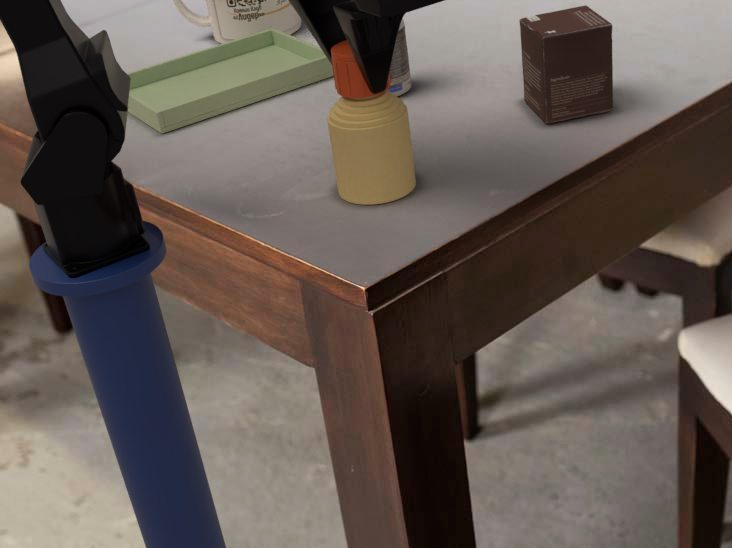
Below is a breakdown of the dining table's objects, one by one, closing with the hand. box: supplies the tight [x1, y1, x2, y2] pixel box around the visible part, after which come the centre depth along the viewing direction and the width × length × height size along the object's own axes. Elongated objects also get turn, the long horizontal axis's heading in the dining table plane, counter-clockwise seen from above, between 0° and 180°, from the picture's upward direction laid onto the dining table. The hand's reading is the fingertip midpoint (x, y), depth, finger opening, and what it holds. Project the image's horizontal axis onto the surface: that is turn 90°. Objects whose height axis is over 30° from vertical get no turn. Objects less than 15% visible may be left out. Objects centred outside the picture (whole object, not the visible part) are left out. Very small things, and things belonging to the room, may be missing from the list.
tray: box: [125, 28, 334, 135], centre depth 108 cm, size 19×13×2 cm
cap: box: [331, 40, 391, 98], centre depth 80 cm, size 4×4×3 cm
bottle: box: [326, 90, 417, 206], centre depth 82 cm, size 6×6×10 cm
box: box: [518, 5, 614, 124], centre depth 91 cm, size 6×6×7 cm
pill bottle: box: [387, 18, 412, 97], centre depth 100 cm, size 5×5×8 cm
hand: (363, 85), depth 80 cm, fingers closed on cap, 4 cm apart
